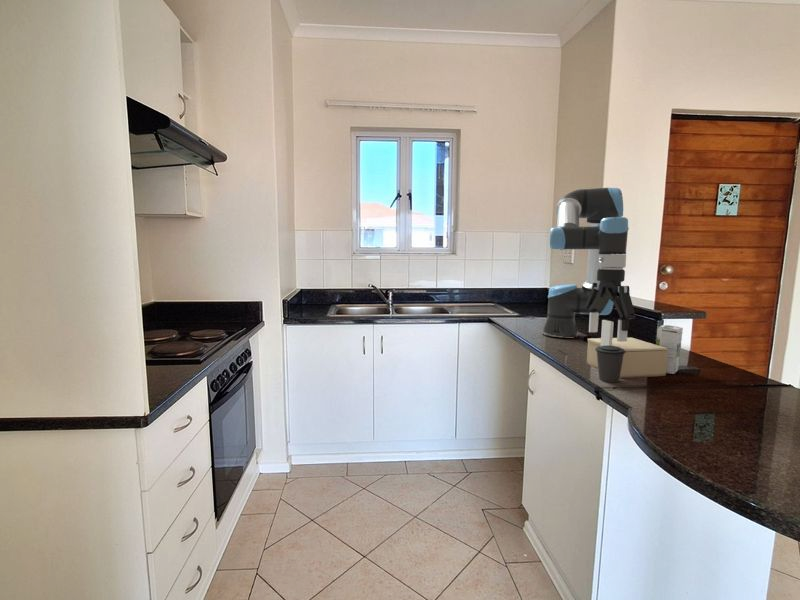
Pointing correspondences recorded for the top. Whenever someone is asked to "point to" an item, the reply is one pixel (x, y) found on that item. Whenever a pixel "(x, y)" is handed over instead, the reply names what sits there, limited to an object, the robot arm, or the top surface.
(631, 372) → the carton
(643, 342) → the lid flap
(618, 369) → the coffee cup
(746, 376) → the top surface
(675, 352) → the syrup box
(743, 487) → the top surface
